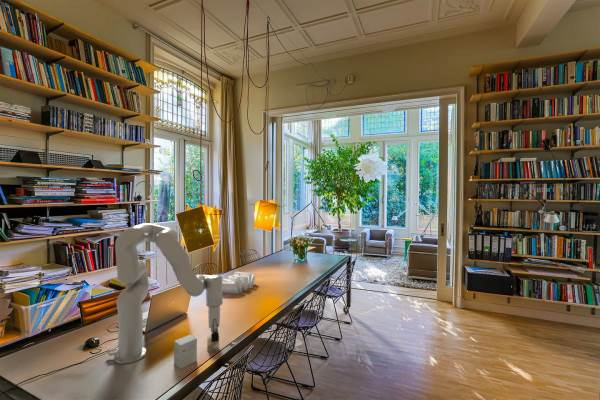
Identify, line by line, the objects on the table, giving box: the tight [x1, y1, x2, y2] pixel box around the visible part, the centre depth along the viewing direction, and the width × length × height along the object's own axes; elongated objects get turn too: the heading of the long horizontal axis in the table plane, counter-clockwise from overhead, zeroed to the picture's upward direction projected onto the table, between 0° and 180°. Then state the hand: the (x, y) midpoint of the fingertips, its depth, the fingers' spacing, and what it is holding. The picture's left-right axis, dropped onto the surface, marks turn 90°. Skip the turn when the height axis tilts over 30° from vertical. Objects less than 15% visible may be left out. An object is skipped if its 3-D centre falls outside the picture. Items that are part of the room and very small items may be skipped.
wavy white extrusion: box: [222, 271, 256, 295], centre depth 225 cm, size 35×16×10 cm, turn 153°
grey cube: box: [206, 334, 220, 353], centre depth 139 cm, size 6×6×6 cm
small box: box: [173, 334, 198, 370], centre depth 127 cm, size 8×6×10 cm
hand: (214, 336), depth 139 cm, fingers open, 9 cm apart
